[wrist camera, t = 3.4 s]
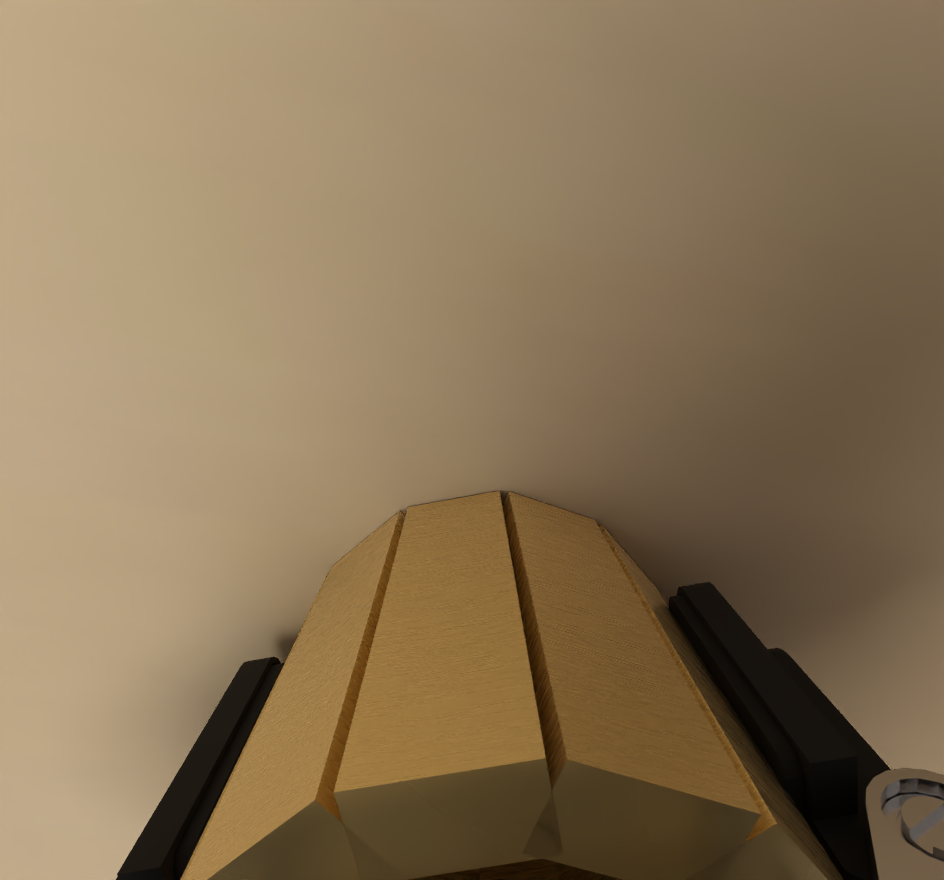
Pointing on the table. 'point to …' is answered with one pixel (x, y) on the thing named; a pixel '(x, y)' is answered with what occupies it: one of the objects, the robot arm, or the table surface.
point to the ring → (499, 723)
